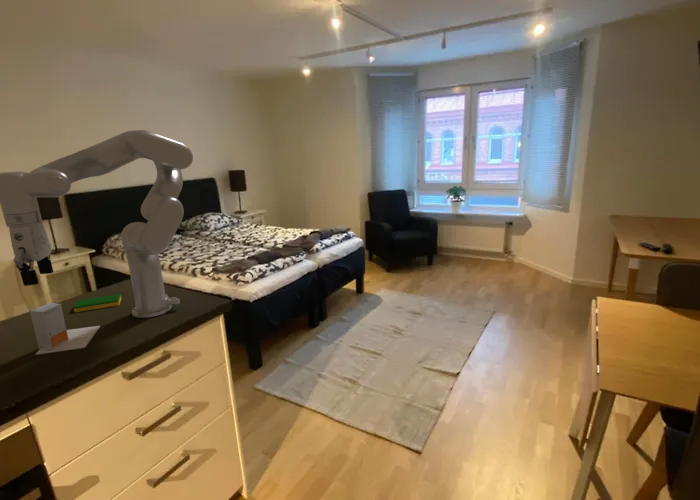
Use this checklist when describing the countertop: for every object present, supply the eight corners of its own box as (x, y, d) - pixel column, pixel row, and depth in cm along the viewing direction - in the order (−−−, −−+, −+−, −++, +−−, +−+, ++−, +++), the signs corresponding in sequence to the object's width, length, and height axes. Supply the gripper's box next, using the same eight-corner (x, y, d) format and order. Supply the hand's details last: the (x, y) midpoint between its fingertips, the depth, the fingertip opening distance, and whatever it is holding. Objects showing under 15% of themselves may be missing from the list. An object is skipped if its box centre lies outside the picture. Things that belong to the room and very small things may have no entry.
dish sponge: (78, 306, 140) (77, 300, 139) (121, 299, 145) (120, 293, 145) (74, 313, 133) (73, 307, 133) (119, 306, 139) (118, 300, 138)
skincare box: (51, 350, 107) (41, 312, 104) (38, 349, 108) (28, 311, 105) (70, 340, 113) (61, 303, 110) (58, 339, 114) (49, 302, 111)
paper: (100, 326, 122) (100, 325, 122) (85, 347, 109) (84, 346, 109) (56, 332, 119) (56, 331, 119) (35, 354, 106) (35, 353, 106)
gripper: (25, 224, 95) (41, 287, 99) (53, 212, 110) (66, 268, 115) (-12, 226, 92) (7, 291, 97) (22, 214, 108) (37, 271, 113)
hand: (39, 278), depth 106 cm, fingers open, 9 cm apart
